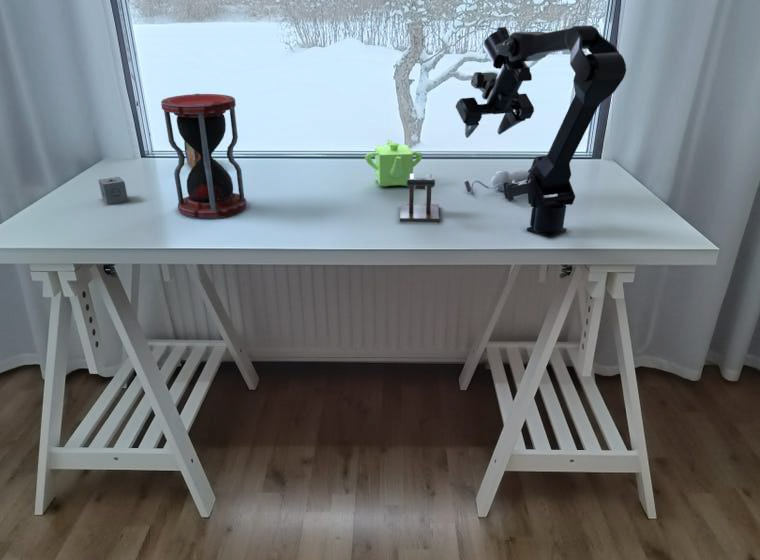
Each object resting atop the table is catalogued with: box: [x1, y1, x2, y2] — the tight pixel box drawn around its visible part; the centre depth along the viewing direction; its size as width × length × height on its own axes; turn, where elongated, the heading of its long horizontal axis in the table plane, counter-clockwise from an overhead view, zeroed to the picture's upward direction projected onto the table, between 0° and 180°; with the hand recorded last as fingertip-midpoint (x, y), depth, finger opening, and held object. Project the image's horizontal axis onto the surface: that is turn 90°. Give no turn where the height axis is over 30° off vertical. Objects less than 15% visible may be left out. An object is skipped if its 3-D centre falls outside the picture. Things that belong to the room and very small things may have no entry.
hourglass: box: [160, 93, 247, 219], centre depth 153 cm, size 16×16×25 cm
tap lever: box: [406, 177, 436, 191], centre depth 147 cm, size 11×6×2 cm, turn 177°
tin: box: [183, 140, 200, 169], centre depth 191 cm, size 15×3×8 cm, turn 25°
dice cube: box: [98, 176, 129, 206], centre depth 164 cm, size 5×5×5 cm
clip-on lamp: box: [464, 168, 530, 202], centre depth 169 cm, size 12×6×18 cm
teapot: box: [364, 139, 423, 188], centre depth 175 cm, size 15×13×11 cm
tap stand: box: [399, 173, 440, 223], centre depth 153 cm, size 11×9×9 cm
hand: (482, 134), depth 162 cm, fingers open, 9 cm apart
